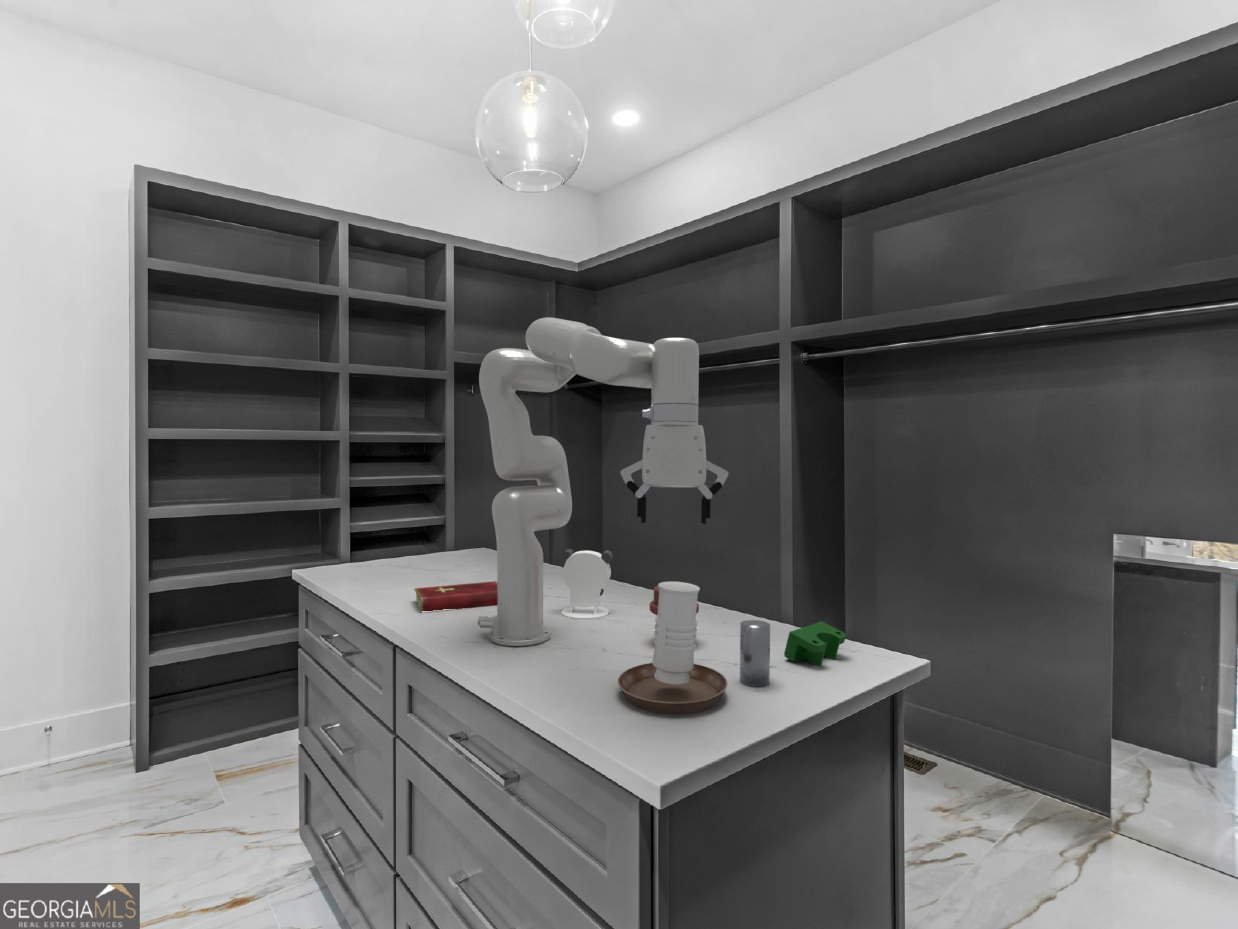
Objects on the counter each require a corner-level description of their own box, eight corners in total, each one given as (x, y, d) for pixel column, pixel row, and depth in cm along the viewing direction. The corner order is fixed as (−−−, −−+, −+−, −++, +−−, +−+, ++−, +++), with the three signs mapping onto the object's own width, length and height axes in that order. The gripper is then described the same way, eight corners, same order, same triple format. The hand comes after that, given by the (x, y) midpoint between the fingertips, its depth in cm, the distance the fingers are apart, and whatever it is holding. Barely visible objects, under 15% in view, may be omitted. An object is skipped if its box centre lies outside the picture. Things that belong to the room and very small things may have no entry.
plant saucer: (647, 729, 94) (647, 708, 94) (601, 687, 110) (601, 669, 110) (749, 709, 101) (749, 690, 101) (692, 672, 117) (692, 655, 117)
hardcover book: (507, 606, 163) (507, 589, 163) (421, 615, 155) (421, 597, 154) (495, 595, 174) (495, 580, 174) (414, 603, 166) (414, 587, 165)
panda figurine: (614, 607, 161) (614, 547, 160) (608, 620, 149) (609, 555, 149) (566, 606, 162) (566, 546, 161) (557, 618, 151) (557, 554, 150)
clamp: (811, 689, 120) (811, 652, 116) (784, 672, 124) (783, 637, 120) (848, 653, 126) (849, 617, 122) (821, 639, 131) (821, 604, 126)
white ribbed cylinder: (641, 675, 106) (648, 584, 105) (670, 666, 111) (676, 579, 110) (673, 689, 101) (681, 593, 100) (701, 679, 106) (708, 588, 105)
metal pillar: (741, 686, 109) (741, 627, 109) (738, 675, 114) (739, 619, 114) (771, 687, 109) (772, 628, 108) (767, 677, 114) (768, 620, 113)
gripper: (619, 415, 101) (618, 524, 102) (730, 415, 100) (729, 526, 100) (623, 417, 109) (622, 518, 109) (727, 417, 107) (725, 520, 108)
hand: (673, 522), depth 105 cm, fingers open, 9 cm apart
